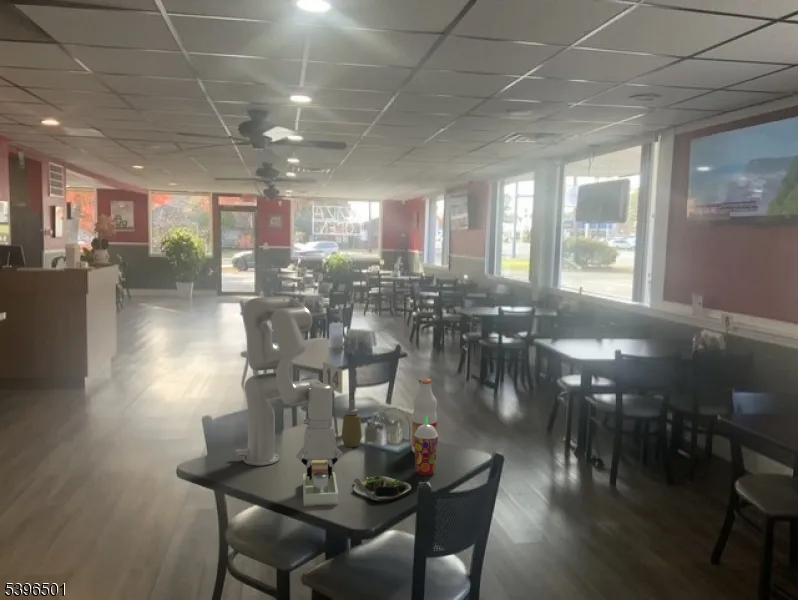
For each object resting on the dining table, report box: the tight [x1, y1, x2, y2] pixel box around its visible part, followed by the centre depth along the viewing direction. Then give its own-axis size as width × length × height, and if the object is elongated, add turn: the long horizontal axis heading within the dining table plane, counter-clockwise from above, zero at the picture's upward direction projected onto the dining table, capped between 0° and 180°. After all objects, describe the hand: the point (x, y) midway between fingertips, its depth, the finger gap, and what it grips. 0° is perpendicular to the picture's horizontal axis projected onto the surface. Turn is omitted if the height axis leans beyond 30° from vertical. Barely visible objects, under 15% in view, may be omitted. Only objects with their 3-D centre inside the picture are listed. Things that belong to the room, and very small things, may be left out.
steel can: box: [313, 472, 328, 494], centre depth 200 cm, size 5×5×7 cm
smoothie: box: [414, 416, 439, 477], centre depth 224 cm, size 8×8×20 cm
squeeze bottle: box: [341, 399, 363, 448], centre depth 252 cm, size 8×8×18 cm
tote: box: [302, 471, 339, 507], centre depth 204 cm, size 10×18×4 cm, turn 9°
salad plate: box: [353, 475, 412, 503], centre depth 208 cm, size 19×18×5 cm
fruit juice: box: [411, 378, 438, 454], centre depth 246 cm, size 9×9×28 cm
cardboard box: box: [311, 459, 328, 484], centre depth 207 cm, size 5×5×6 cm
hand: (319, 477), depth 208 cm, fingers open, 5 cm apart
